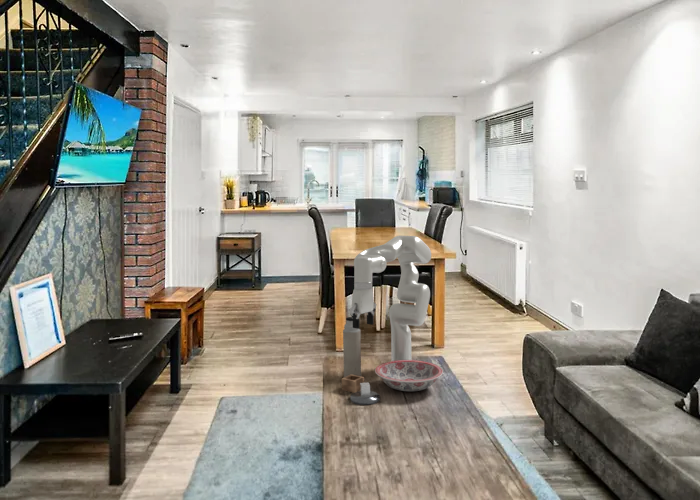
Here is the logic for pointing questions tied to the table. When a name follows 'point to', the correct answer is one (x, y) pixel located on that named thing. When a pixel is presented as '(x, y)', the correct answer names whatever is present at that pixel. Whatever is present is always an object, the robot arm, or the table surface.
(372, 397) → the post base
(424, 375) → the ceramic bowl
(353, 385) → the hollow wooden square
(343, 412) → the table surface
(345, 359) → the thermos bottle
